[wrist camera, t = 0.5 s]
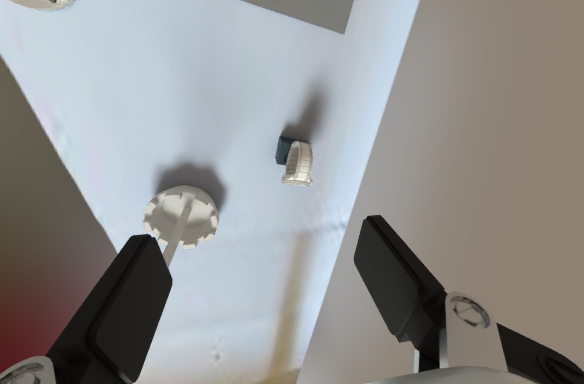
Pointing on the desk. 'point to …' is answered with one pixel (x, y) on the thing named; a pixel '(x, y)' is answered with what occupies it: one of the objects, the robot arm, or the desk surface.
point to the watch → (295, 161)
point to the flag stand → (181, 218)
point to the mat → (312, 11)
